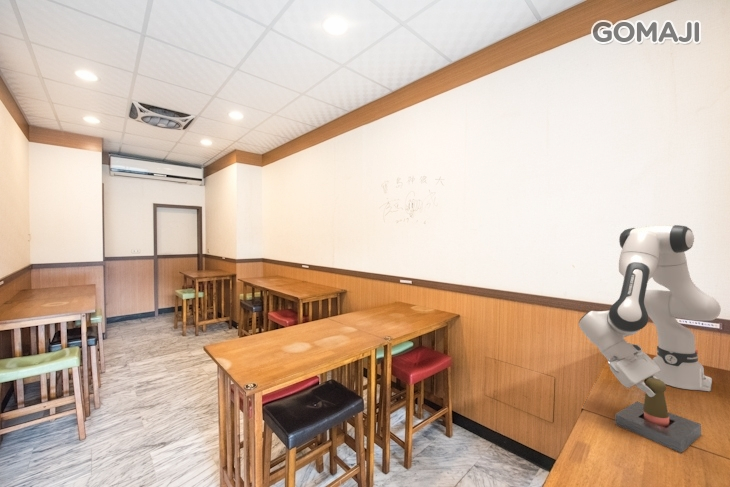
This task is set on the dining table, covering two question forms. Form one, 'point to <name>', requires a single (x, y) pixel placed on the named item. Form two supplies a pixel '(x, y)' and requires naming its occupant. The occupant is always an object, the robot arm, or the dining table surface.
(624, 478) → the dining table surface
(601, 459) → the dining table surface
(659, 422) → the button
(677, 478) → the dining table surface
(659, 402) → the olive pepper mill
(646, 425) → the switch box
